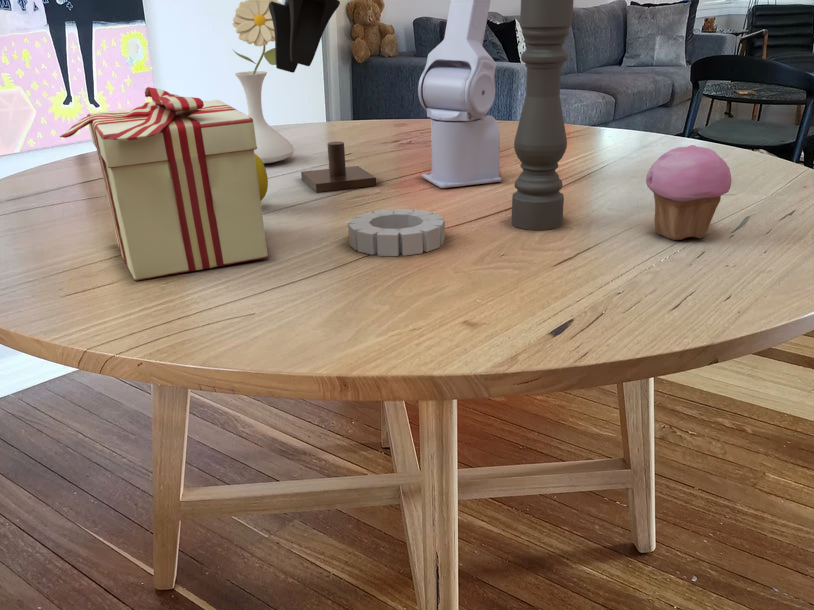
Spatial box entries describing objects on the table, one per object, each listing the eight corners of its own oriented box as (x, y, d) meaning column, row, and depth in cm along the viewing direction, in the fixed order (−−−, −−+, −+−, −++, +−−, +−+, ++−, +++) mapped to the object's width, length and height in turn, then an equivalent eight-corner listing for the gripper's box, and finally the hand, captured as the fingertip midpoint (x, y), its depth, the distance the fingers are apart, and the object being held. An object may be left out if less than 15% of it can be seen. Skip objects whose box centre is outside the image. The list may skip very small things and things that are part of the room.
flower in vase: (212, 167, 134) (188, -4, 123) (249, 153, 144) (231, -7, 132) (282, 171, 130) (264, -6, 118) (316, 157, 139) (303, -9, 127)
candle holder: (566, 217, 102) (580, -9, 90) (557, 231, 97) (571, -7, 85) (517, 214, 104) (525, -8, 92) (505, 228, 99) (512, -6, 87)
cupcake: (697, 223, 98) (709, 136, 94) (737, 244, 91) (752, 150, 86) (627, 229, 97) (636, 141, 92) (663, 251, 89) (674, 156, 84)
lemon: (262, 216, 107) (255, 152, 103) (222, 214, 108) (213, 151, 104) (276, 205, 111) (270, 144, 108) (238, 204, 112) (230, 143, 109)
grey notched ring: (424, 224, 101) (423, 204, 100) (458, 248, 92) (458, 227, 91) (339, 235, 98) (337, 215, 97) (366, 261, 89) (365, 239, 88)
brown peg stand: (358, 173, 127) (356, 135, 125) (376, 185, 120) (374, 145, 117) (301, 179, 125) (298, 140, 122) (316, 192, 117) (313, 151, 114)
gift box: (79, 251, 95) (44, 92, 87) (234, 226, 103) (215, 78, 94) (110, 294, 82) (71, 111, 73) (284, 261, 89) (267, 93, 81)
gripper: (265, -60, 95) (246, 63, 98) (293, -94, 82) (270, 49, 85) (323, -40, 98) (303, 79, 101) (359, -70, 85) (335, 68, 88)
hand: (292, 67), depth 93 cm, fingers open, 7 cm apart
